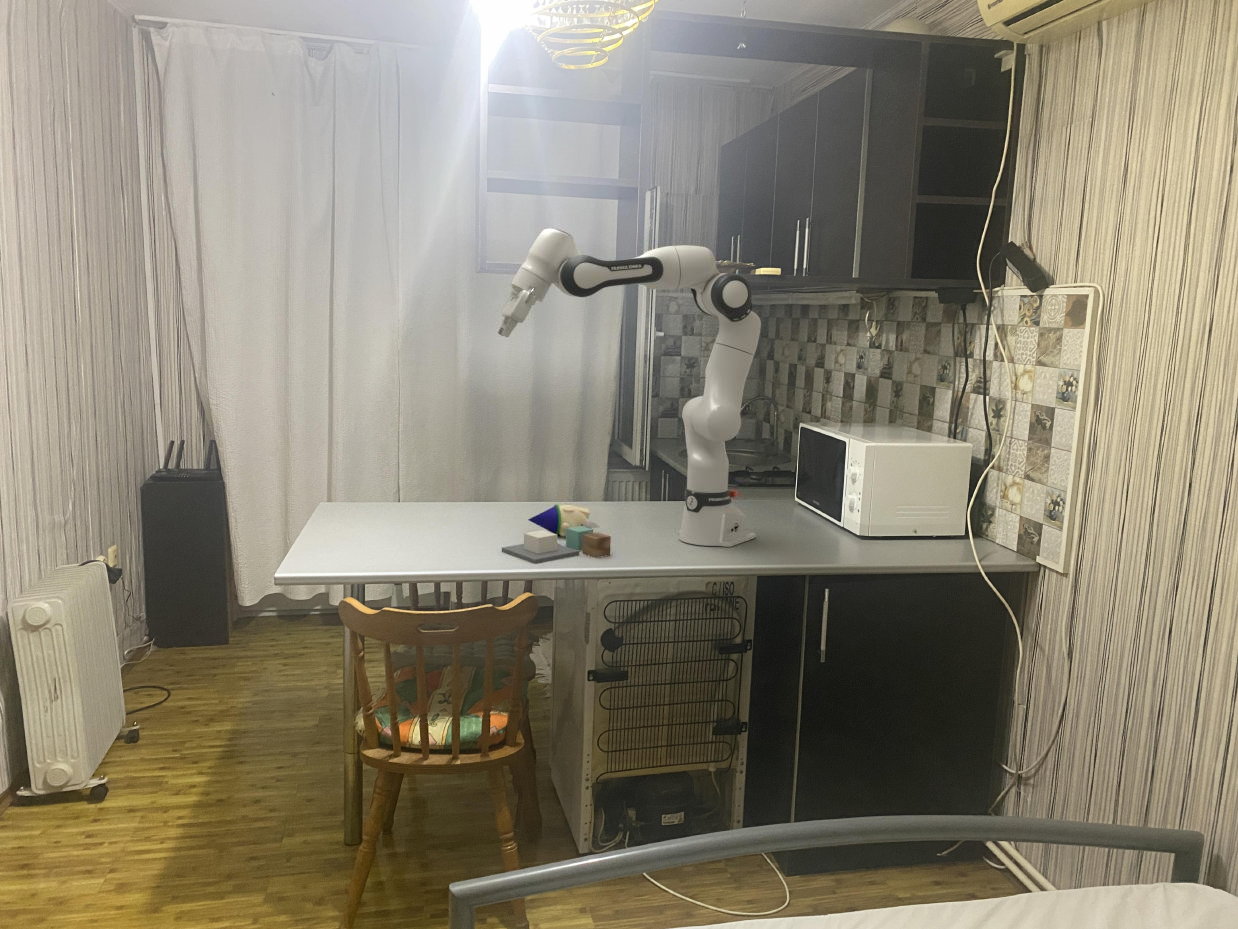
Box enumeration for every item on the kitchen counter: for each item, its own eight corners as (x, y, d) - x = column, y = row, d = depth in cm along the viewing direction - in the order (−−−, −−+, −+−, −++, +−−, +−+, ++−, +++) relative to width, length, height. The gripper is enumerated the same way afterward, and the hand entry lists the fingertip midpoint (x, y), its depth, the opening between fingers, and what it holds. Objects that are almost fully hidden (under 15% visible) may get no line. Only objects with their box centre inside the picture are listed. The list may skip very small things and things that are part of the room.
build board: (545, 543, 243) (545, 525, 242) (579, 554, 233) (579, 535, 232) (501, 551, 234) (501, 532, 233) (534, 563, 224) (535, 543, 223)
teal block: (580, 544, 244) (581, 525, 243) (592, 548, 241) (593, 529, 240) (565, 546, 241) (566, 528, 240) (578, 550, 237) (578, 532, 236)
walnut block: (597, 551, 238) (597, 532, 237) (610, 555, 234) (610, 536, 233) (582, 554, 234) (582, 534, 234) (595, 558, 231) (595, 538, 230)
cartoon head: (599, 544, 255) (527, 545, 249) (592, 520, 262) (523, 520, 256) (605, 521, 250) (532, 521, 244) (598, 498, 257) (527, 497, 251)
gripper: (546, 293, 221) (518, 343, 221) (534, 294, 241) (508, 340, 241) (523, 279, 219) (495, 330, 220) (513, 281, 239) (487, 328, 239)
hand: (502, 335), depth 231 cm, fingers open, 8 cm apart
